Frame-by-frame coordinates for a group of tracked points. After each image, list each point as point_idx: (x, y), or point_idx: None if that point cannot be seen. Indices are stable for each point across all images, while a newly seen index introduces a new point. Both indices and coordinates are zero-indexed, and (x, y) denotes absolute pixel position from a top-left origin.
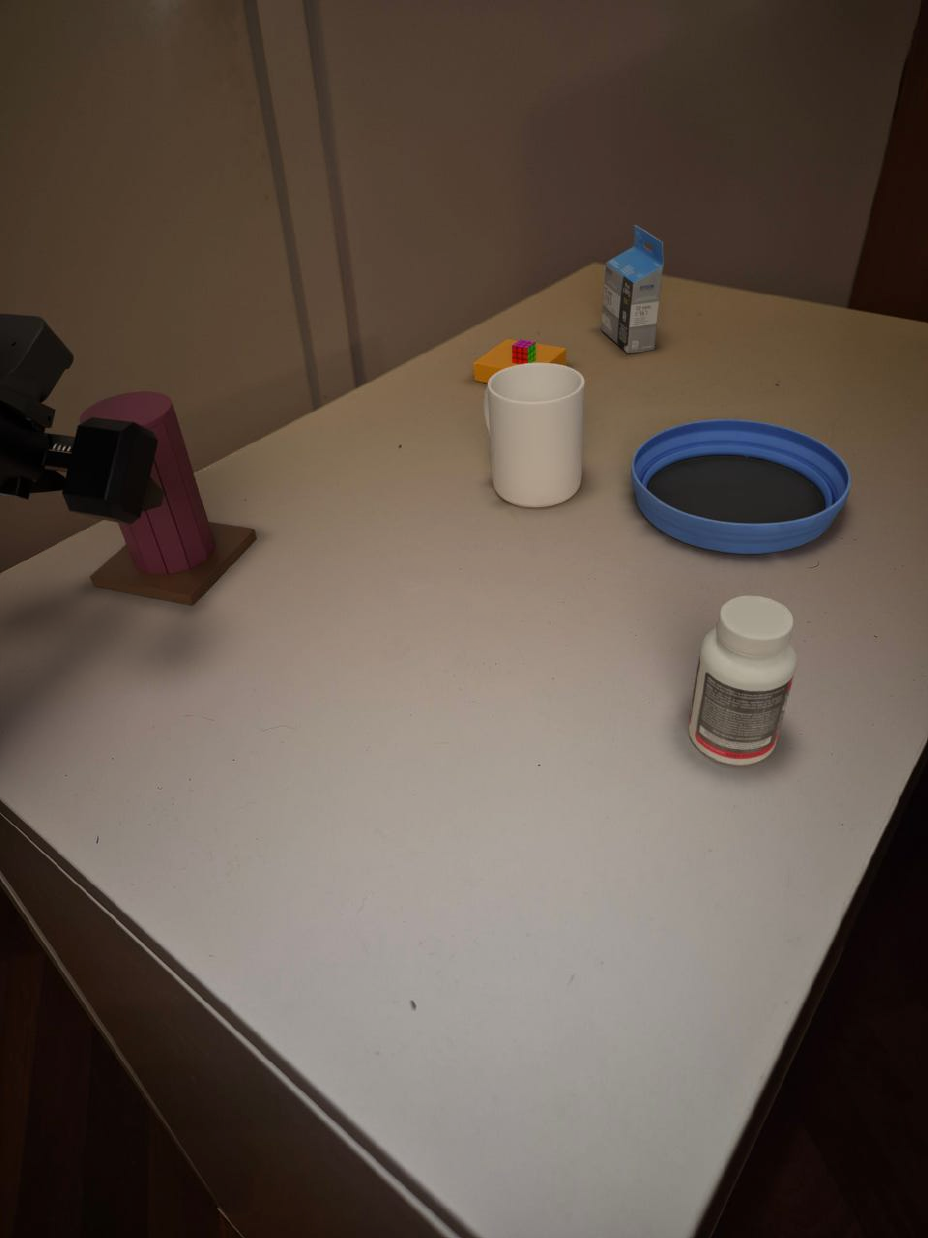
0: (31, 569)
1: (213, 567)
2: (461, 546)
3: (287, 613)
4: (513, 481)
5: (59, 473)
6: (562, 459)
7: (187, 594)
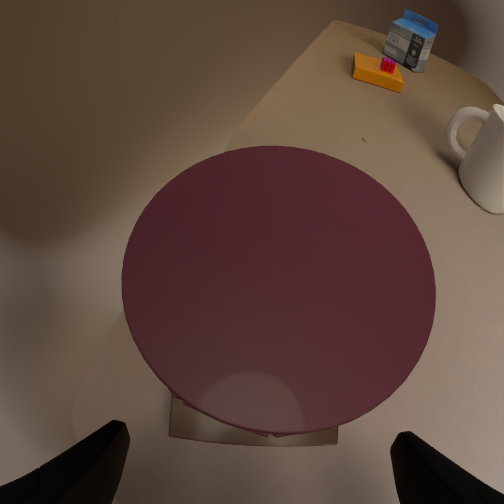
0: (75, 403)
1: None
2: (493, 267)
3: (435, 411)
4: (500, 199)
5: (117, 434)
6: None
7: (333, 443)
